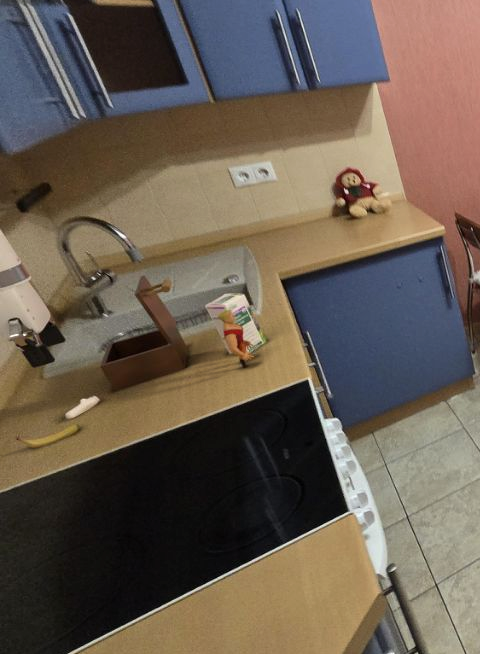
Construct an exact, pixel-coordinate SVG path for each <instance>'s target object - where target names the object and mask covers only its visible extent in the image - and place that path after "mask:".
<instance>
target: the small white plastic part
mask: <svg viewBox="0 0 480 654" xmlns="http://www.w3.org/2000/svg"><path fill="white" fill-rule="evenodd" d="M79 402H80V403H79V404H77V405H76V406H75V407H73V408H72V409H70V410H68V411H67V412H66V413H65V420H68V419H73V418H75V417H77V416H80V414H81V415H82V414H83V413H85V412H86V411H88V410H90V409H92V408H93V407H95V406H96V405H97V404H99V402H101V400H100V399H99V398H98V397H97V396H96V395H92V396H89V397H88V398H82V399H80V401H79Z"/></svg>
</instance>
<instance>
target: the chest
mask: <svg viewBox="0 0 480 654" xmlns="http://www.w3.org/2000/svg"><path fill="white" fill-rule="evenodd" d="M188 350H189V348H188V346H187V344H186V343H185V341H184V338H183V337H182V335H181V333H180V331H179V329H178V327H177V324H176V325H175V331H174V338H173V342H172V343H170V344H169V343H168V342H167V341H166V339H165V338H164V336H163V335H162V333H161V332H160V331H159V329H158V328H157V329H154V330H150V331H147V332H143V333H141V334H137V335H133V336H129V337H126V338H123V339H120V340H119V339H118V340H116V341H111V342H109V343H108V344H107V346H106V350H105V352H104V354H103V357H102V360H101V363H100V365H99V367H100V369H101V371H102V372H103V374H104V375H105V377H106V379H107V381H108V382H109V384H110V386H111V387H112V389H113V390H114V392H118V391H121V390H124V389H126V388H130V387H133V386H136V385H140V384H142V383H145V382H148V381H151V380H154V379H158V378H161V377H164V376H167V375H170V374H173V373H176V372H180V371H183V370H186V368H187V362H188V352H189V351H188Z"/></svg>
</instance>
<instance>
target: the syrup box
mask: <svg viewBox="0 0 480 654" xmlns="http://www.w3.org/2000/svg"><path fill="white" fill-rule="evenodd" d="M204 306H205V309H206V311H207V313H208V315H209V316H210V319H211V320H212V322H213V325H214V326H215V328H216V330H217V332H218V334H219V336H220V339H221V340H222V342H223V344H224V346H225V348H226V350H227V352H228V354H229V355H234V354H233V353H232V352H231V351H230V350H229V348H228V344H227V343H226V339H225V338H224V332H223V324H224V322H222V320H221V319H219V317H218V316H219V315H220V314H221V313H223V312H225V311H226V310H230V311H231V312H232V314H233V315H234V316H235V317H236V318H235V319H236V322H234V323H235V324H238V325H240V326H241V327H243V340H247V341H249V342H251V344H253V345H254V346H251V345H250V346H251V348H250V347H249V346H248V348H249V349H247V346H246V353H247V352H250V353H251V354H252V353H253V351H255V350H257V349H258V348H259V347H261V346H263V344H266V343H267V340H266V337H265V336H264V333H263V331H262V328H261V327H260V324H259V323H258V320H257V319H256V316H255V314H254V312H253V310H252V308H251V306H250V303H249V301H248V299H247V297H246V295H245V294H244V293H237V292H235V293H234V292H233V293H232V292H231V293H224V294H223V295H221V296H220V297H217V298H215V299H214V300H213V301H211V302H209V303H206V304H205V305H204ZM237 349H238V348H237ZM238 350H239V349H238Z"/></svg>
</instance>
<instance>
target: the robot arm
mask: <svg viewBox="0 0 480 654" xmlns="http://www.w3.org/2000/svg"><path fill="white" fill-rule="evenodd" d="M32 278H33V277H32V276H31V274H30V273H29V271H28V269H27V268H26V266H25V265H24V264H23V262H22V260H21V259H20V257H19V256H18V254H17V252H16V251H15V250H14V248H13V246H12V245H11V244H10V242H9V241H8V238H6V236H5V234H4V233H3V231H2V229H0V334H1V336H2V337H3V339H4V340H5V341H7V342H13V343H14V345H15V347H17V349H18V350H19V352H21V354H22V355H23V356H24V358H25V359H26V360H27V362H28V364H29V365H30V366H31V368H34V369H36V368H39V367H42V366H43V367H44V366H46V365H49V364H52V363H55V361H56V358H55V357H54V355H53V354H52V351H50V349H49V347H53V346H56V345H59V344H63V343H65V342H66V338H65V336H64V334H63V333H62V332H61V330H60V328H59V327H58V326H57V324H56V322H55V320H54V319H53V318H51V312H50V311H49V309H48V307H47V306H46V304H45V302H44V301H43V299H42V298H41V296H40V295H39V293H38V292H37V291H36V289H35V288H34V287H33V286H32V284H31V283H30V282H29V281H31V280H32ZM31 338H32V339H31Z"/></svg>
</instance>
